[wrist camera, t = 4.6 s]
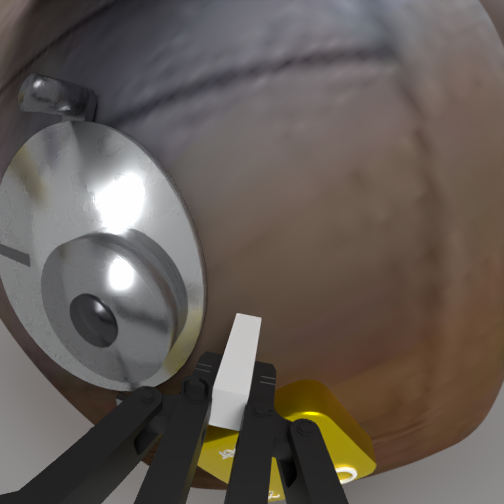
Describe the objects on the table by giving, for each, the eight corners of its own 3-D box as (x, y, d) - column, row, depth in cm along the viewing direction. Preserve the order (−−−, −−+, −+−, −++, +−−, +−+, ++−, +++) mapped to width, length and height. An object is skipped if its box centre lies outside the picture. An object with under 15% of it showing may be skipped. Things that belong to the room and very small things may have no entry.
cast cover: (72, 215, 17) (30, 228, 13) (195, 240, 17) (168, 264, 13) (79, 329, 20) (50, 355, 16) (184, 365, 20) (165, 404, 16)
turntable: (9, 103, 16) (-36, 101, 10) (242, 89, 15) (221, 51, 9) (19, 335, 24) (-11, 359, 18) (195, 412, 23) (177, 462, 17)
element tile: (313, 368, 21) (318, 410, 17) (375, 441, 24) (383, 474, 19) (185, 420, 25) (172, 454, 20) (266, 478, 27) (263, 507, 23)
